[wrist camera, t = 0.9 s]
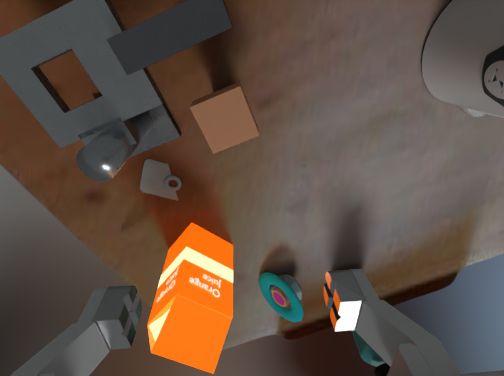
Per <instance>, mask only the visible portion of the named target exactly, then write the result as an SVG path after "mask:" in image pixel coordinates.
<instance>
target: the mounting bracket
mask: <svg viewBox="0 0 504 376" xmlns="http://www.w3.org/2000/svg"><path fill="white" fill-rule="evenodd" d="M171 180H176V181H177V183H178V185H177V186H176V187H174V186H171V185H170V181H171ZM181 187H182V180H181V179H180V178H179V177H177V176H175V175H171V172H170V168H169V164H165V163H162V162H158V161H155V160H151V159H148V160H146V161H145V163H144V167H143V172H142V177H141V183H140V190H141V191H142V192H145V193H149V194H153V195H157V196H161V197H165V198H169V199H173V200H177V201H178V198H177V194H176V191H177V190H179V189H181Z"/></svg>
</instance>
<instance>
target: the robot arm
mask: <svg viewBox="0 0 504 376" xmlns="http://www.w3.org/2000/svg"><path fill="white" fill-rule="evenodd" d="M422 74H423V79H424V82H425V84H426V86H427V88H428V90H429V91H430V92H431V94H432V95H433V96H435V97H436V98H437V99H439V100H441V101H443V102H446V103H450V104H454V105H458V106H460V107H461V108H462V109H463V110H464V111H465V112H466V113H467V114H469V115H471V116H475V117H481V116H483V115H485V114H490V115H494V116H498V117H503V118H504V0H452V1H451V2H450V4H449V5H448V6H447V7H446V8H445V9H444V11H443V12H442V13H441V15H440V16H439V17H438V19H437V21H436V22H435V24H434V26H433V27H432V29H431V31H430V33H429V36H428V38H427V41H426V44H425V47H424V51H423V57H422ZM325 278H326V281H327V282H326V283H325V284H324V299H325V303H326V306H327V308H329V309H330V310H331V314H330V318H331V321H332V324H333V326H334V329H335V331H346V330H347V331H348V330H355V331H356V332H357V333H358V334H359V335H360V336H361V337H362V338H363V339H364V340H365V342H366V343H367V344H368V345H369V346H370V347H371V348H372V349H373V350H374V351H375V352H376V353H377V354H378V355H379V356H380V357H381V358H382V359H383V360H384V361H385V362H386V363H387V364H388V365H389V366H390V370H389V372H388V374H387V376H504V370H503V371H492V372H480V373H469V374H461V373H460V371H459V370H458V368H457V367H456V365H455V364H454V362H453V361H452V359H451V357H450V356H449V354H448V353H447V351H446V350H445V348H444V347H443V345H442V344H441V342H440V341H439V340H438V339H437V338H435V337H434V336H433V335H431V334H430V333H429V332H427V331H426V330H424V329H423V328H422V327H420V326H419V325H417V324H416V323H415V322H413V321H412V320H410V319H409V318H408V317H406V316H405V315H403V314H402V313H401V312H399V311H398V310H396V309H395V308H394V307H392V306H391V305H389V304H388V303H387V302H385V301H384V300H379V298H378V296H377V294H376V292H375V291H374V289H373V287H372V285H371V283H370V281H369V280H368V278H367V276H366V274H365V272H364V270H362V269H351V270H337V271H327V272H326V276H325ZM136 294H137V289H136V287H135V286H117V287H115V286H114V287H98V288H96V289H95V290H94V291H93V293H92V295H91V297H90V299H89V301H88V303H87V305H86V307H85V309H84V311H83V313H82V315H81V317H80V318H79V320H78V322H77V323H75V324H72V325H71V326H70V327H69V328H67V329H66V330H65V331H64V332H63V333H61V334H60V335H59V336H58V337H56V338H55V339H54V340H53V341H52V342H50V343H49V344H48V345H47V346H46V347H44V348H43V349H42V350H41V351H40V352H38V353H37V354H36V355H35V356H33V357H32V358H31V359H30V360H29V361H28V362H26V363H25V364H24V365H23V366H21V367H20V368H19V369H18V370H16V371H15V372H14V373H13V374H12V375H11V376H89V375H90V373H91V372H92V371H93V370H94V369H95V368H96V367H97V365H98V364H99V363H100V362H101V361H102V359H103V358H104V357H105V356H106V355H107V354H108V353H109V350H113V349H122V348H131V346H132V343H133V340H134V337H135V333H136V331H135V328H134V326H135V325H136V324H137V323H138V322H139V320H140V317H141V311H142V305H141V300H140V298H139V297H137V296H136Z"/></svg>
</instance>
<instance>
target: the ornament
mask: <svg viewBox="0 0 504 376" xmlns="http://www.w3.org/2000/svg"><path fill="white" fill-rule="evenodd" d="M259 285H260V288H261V291H262V293H263V295H264V297H265V298H266V300H267V301H268V303H269V304H270V305H271V307H272V308H273V309H274V310H275V311H276V312H277V313H279V314H280V315H281V316H282V317H284V318H286V319H287V320H289V321H292V322H299V321H301V320H302V318H303V308H302V305H301V302H300V300H301V298H302V290H301V286H300V285H299V283H298V281H297V280H296V279H294V278H293V277H292V276H290V275H287V274H284V275H279V277H278V276H277V275H275V274H273V273H269V272H264V273H262V274H261V275H260V278H259ZM270 285H275V286H277V287H276V288H275V289H274V290H272V292H270ZM289 303H291V308H290V309H286V308H284V307H286V306H287V305H288V304H289Z"/></svg>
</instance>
